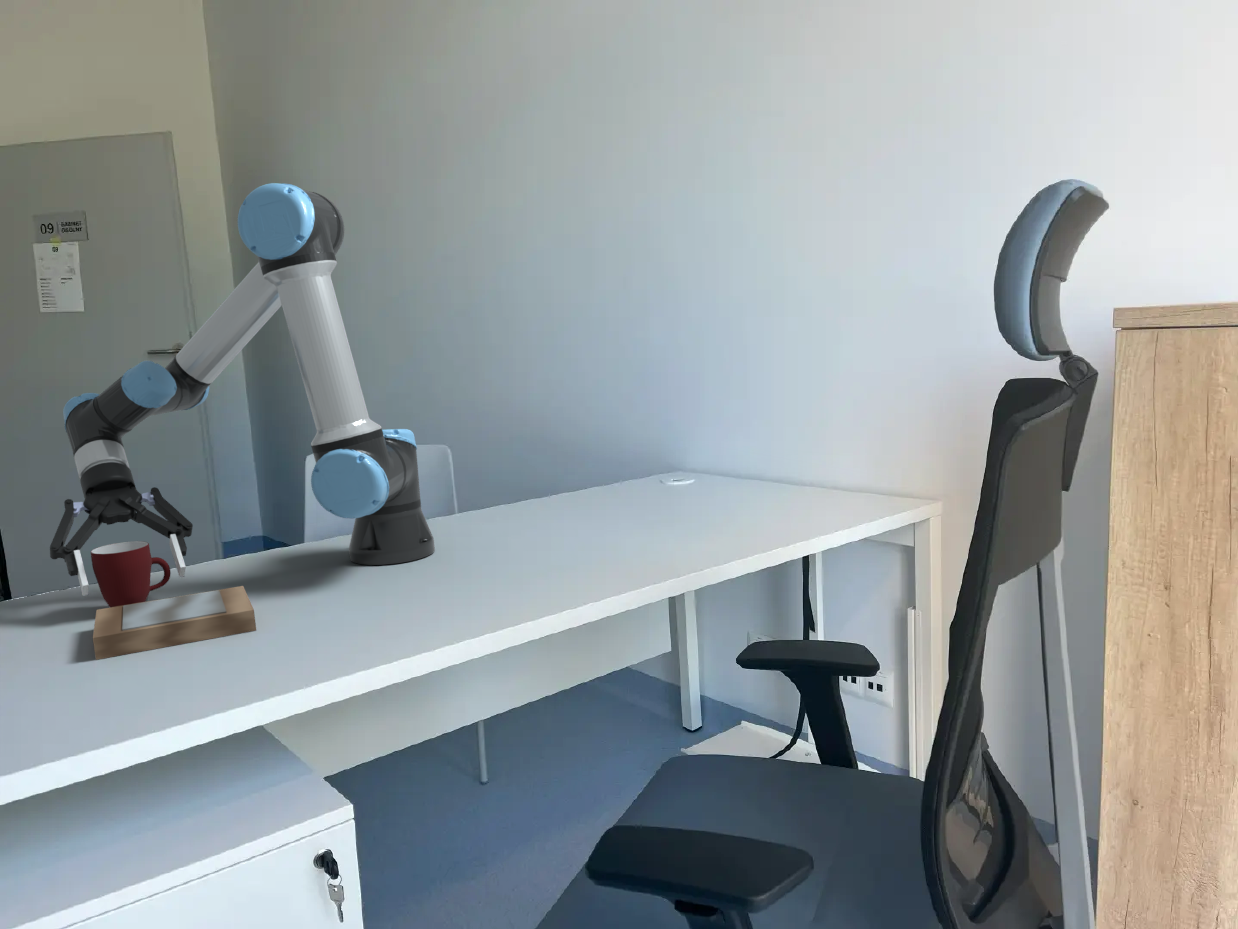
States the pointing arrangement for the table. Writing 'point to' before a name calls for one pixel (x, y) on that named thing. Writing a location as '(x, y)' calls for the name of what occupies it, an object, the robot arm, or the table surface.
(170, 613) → the plinth
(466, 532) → the table surface
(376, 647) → the table surface
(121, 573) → the mug
